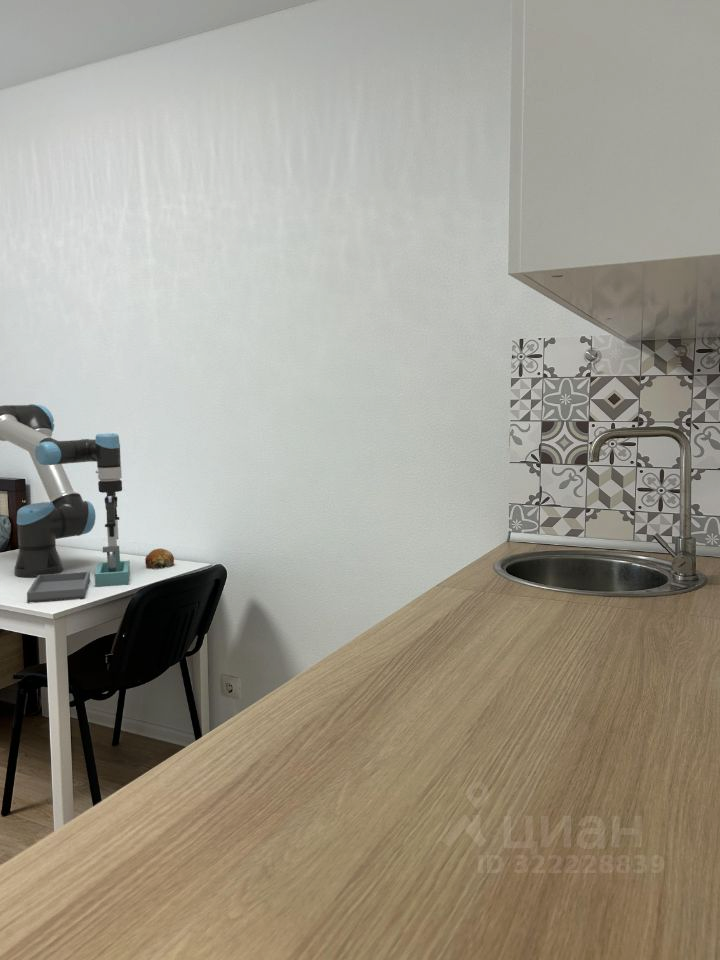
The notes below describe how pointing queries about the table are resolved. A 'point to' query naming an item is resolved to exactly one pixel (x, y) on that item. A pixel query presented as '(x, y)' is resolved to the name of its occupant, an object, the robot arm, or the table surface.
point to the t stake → (111, 557)
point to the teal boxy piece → (112, 573)
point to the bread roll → (159, 559)
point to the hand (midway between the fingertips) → (113, 542)
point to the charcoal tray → (59, 587)
